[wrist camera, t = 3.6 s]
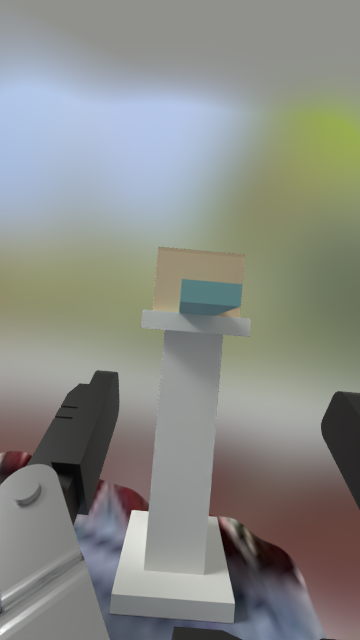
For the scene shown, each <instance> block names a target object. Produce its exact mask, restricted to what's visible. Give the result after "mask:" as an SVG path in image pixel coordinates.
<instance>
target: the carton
mask: <svg viewBox="0 0 360 640" xmlns="http://www.w3.org/2000/svg"><path fill="white" fill-rule="evenodd" d="M244 259H245V255H244V254H234V253H223V252H211V251H200V250H189V249H178V248H166V247H158V257H157V267H156V278H155V289H154V300H153V310H155V311H167V312H178V313H190V314H201V315H213V316H224V317H236V318H240V310H241V297H242V284H243V272H244Z"/></svg>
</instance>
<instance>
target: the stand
mask: <svg viewBox="0 0 360 640" xmlns="http://www.w3.org/2000/svg"><path fill="white" fill-rule="evenodd" d="M250 324H251V319H247V318H236V317H224V316H213V315H201V314H190V313H178V312H167V311H155V310H144V309H143V312H142V323H141V327H142V328H154V329H164V330H165V333H164V344H163V355H162V367H161V378H160V389H159V400H158V413H157V423H156V435H155V447H154V458H153V469H152V481H151V493H150V503H149V512H147V511H135V510H132V513H131V517H130V521H129V525H128V529H127V533H126V537H125V541H124V545H123V549H122V553H121V557H120V561H119V565H118V569H117V573H116V577H115V581H114V585H113V589H112V593H111V603H110V614H120V615H133V616H145V617H158V618H171V619H184V620H196V621H209V622H222V623H234V610H235V601H234V597H233V592H232V587H231V582H230V578H229V573H228V568H227V563H226V559H225V554H224V549H223V544H222V540H221V535H220V530H219V525H218V521H217V517H208V516H209V502H210V491H211V479H212V466H213V454H214V441H215V428H216V416H217V404H218V392H219V379H220V367H221V355H222V342H223V335H234V336H245V337H249V336H250Z"/></svg>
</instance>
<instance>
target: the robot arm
mask: <svg viewBox="0 0 360 640" xmlns="http://www.w3.org/2000/svg"><path fill="white" fill-rule="evenodd" d="M118 412H119V380H118V373H117V372H110V371H98V370H97V371H96V372H95V374H94V376H93V378H92V380H91V382H90V384H79V385H78V386H77V387H75V388H74V389H73V390H72V391H70V392H69V393H68V394H67V396H66V398H65V400H64V401H63V403H62V405H61V408H59V410H58V412H57V414H56V416H55V419H53V421H52V423H51V424H50V426H49V428H48V430H47V431H46V433H45V435H44V437H43V438H42V440H41V442H40V444H39V445H38V447H37V449H36V451H35V452H34V454H33V456H32V458H31V459H30V461H29V462H28V464H27V465H26V466H25V467H23V468H21V469H19V470H17V471H16V472H14V473H13V474H11V475H10V476H9V477H8V478H7V479H6V480H5V481H4V482H3V483H2V484H1V485H0V590H1V611H0V640H110V638H109V635H108V632H107V629H106V626H105V622H104V619H103V616H102V613H101V610H100V606H99V603H98V600H97V597H96V594H95V590H94V587H93V584H92V581H91V578H90V574H89V571H88V568H87V565H86V562H85V560H84V557H83V555H82V553H81V550H80V547H79V544H78V541H77V537H76V534H75V531H74V528H73V525H74V522H75V519H76V517H77V514H82V515H88V513H89V510H90V507H91V503H92V500H93V497H94V494H95V490H96V487H97V484H98V481H99V477H100V474H101V471H102V467H103V464H104V461H105V458H106V454H107V451H108V447H109V444H110V441H111V438H112V435H113V431H114V428H115V425H116V421H117V418H118ZM321 431H322V435H323V438H324V440H325V442H326V444H327V446H328V448H329V450H330V452H331V454H332V456H333V458H334V460H335V462H336V464H337V466H338V468H339V469H340V472H341V474H342V476H343V478H344V479H345V482H346V483H347V486H348V487H349V489H350V491H351V493H352V495H353V497H354V499H355V501H356V503H357V505H358V507H359V509H360V393H352V392H340V391H338V392H336V393H335V394H334V395H333V397H332V400H331V402H330V404H329V406H328V409H327V410H326V413H325V415H324V417H323V419H322V423H321ZM172 640H242V639H240V638H238V637H235V636H233V635H231V634H229V633H227V632H225V631H222V630H210V629H197V628H185V627H174V630H173V635H172ZM320 640H334V639H320Z"/></svg>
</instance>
